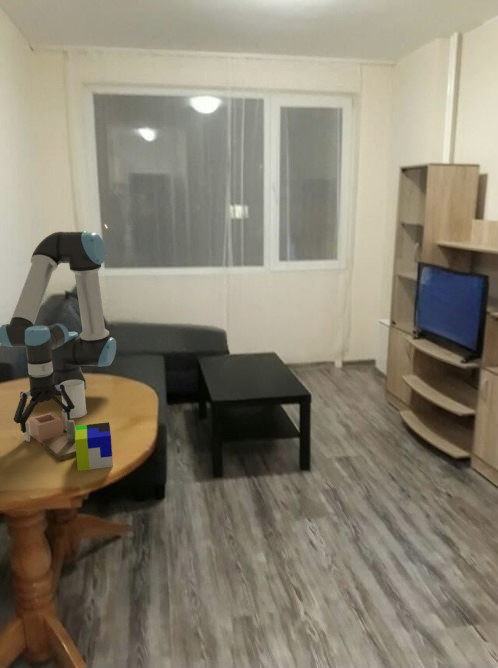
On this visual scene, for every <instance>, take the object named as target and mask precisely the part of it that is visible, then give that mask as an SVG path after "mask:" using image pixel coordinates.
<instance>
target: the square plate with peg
mask: <svg viewBox="0 0 498 668" xmlns="http://www.w3.org/2000/svg"><path fill="white" fill-rule="evenodd" d="M75 426H76V425H75V420H74V419H70V420H68V421H66V427H67V431H66V433H63V435H60V436H56V437H53V438H50V439H46V440H43V441H42V443H41V446H43V447H44V448H45V449H46V450H47V451H48V452H49V453H50V454H52V455H53V456H54V457H55V458H56V459H58V460H59V461H60V462H61V461H63V460H66V459H70V458H72V457H77V456H76V444H75Z"/></svg>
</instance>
